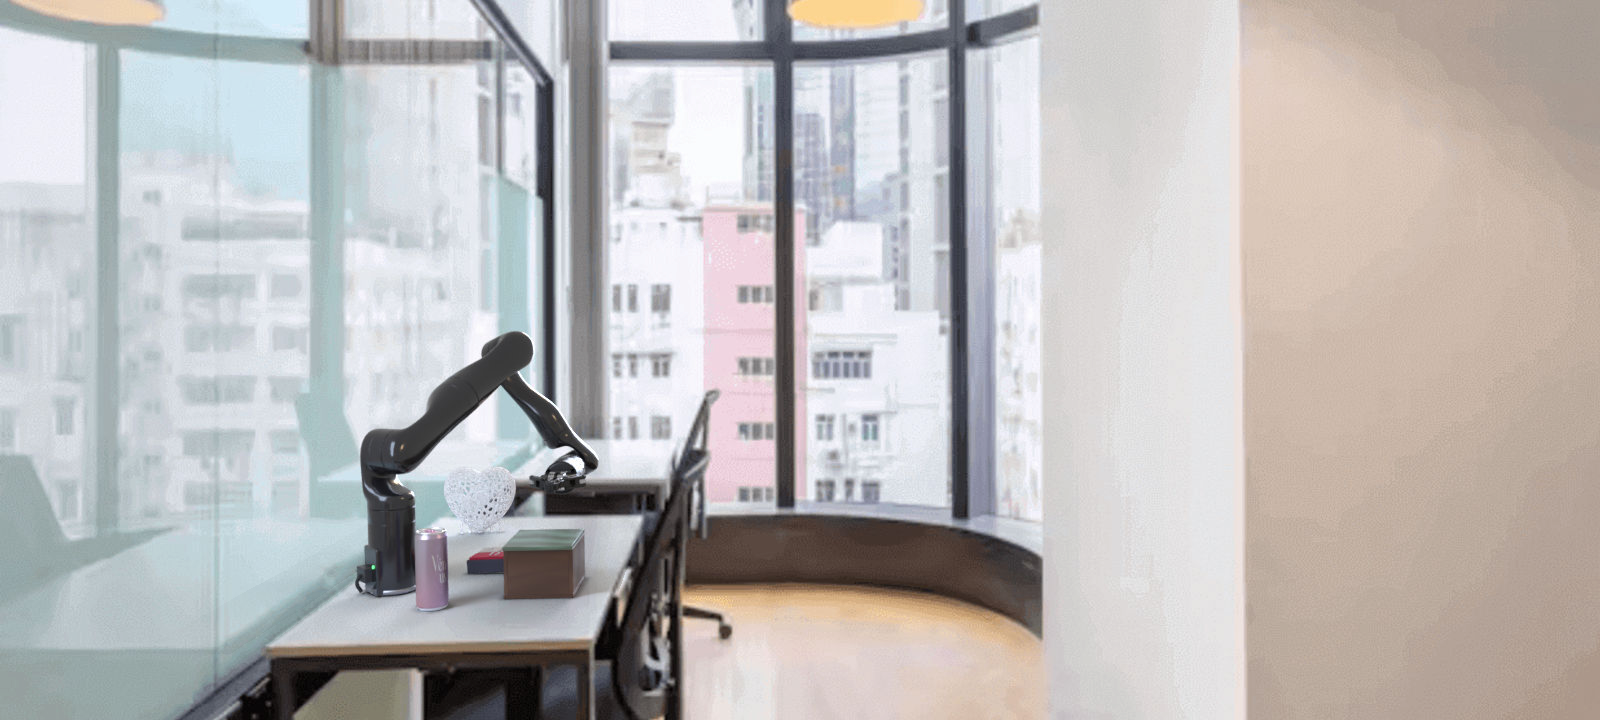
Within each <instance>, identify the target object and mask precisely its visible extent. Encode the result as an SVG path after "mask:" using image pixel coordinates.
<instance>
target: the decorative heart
mask: <svg viewBox="0 0 1600 720" xmlns="http://www.w3.org/2000/svg"><path fill="white" fill-rule="evenodd" d="M497 476H498V477H497ZM462 483H463V484H462ZM467 488H468V489H469V490H468V489H467ZM504 489H505V490H504ZM516 490H517V485H516V480H515V477H514V475H513V474H512V472H511V471H509V470H508V469H507V468H505V467H502V466H489V467H487V468H484V470H482V471H480V470H477V469H475V468H472V467H467V466H460V467H457V468H455V469H453V470H450V472H449V473H448V474H447V476H446V478H445V480H444V484H443V494H444V499H445V501H446V503H447V506H448V507H449V509H450V510H451V512H452V513H453V515H454V516H455V517H456V518H457V519H458V520H460V521H461V523H460V535H464V525H465V526H467V527H468V534H472V530H473V531H474V532H476V533H477V534H483V533H486V531H487V530H488V529H489V533H491V534H492V533H494V532H493V526H494V525H496V524H497V523H498V533H502V521H501V519H502V518H503V517H504V516H505V514H507V512H508V511H509V510H510V508H511V506H512V504H513V502H514V499H515V497H516ZM465 493H466V494H465ZM494 494H495V495H494ZM491 499H492V501H490V500H491ZM490 509H491V510H490ZM484 513H485V514H484Z"/></svg>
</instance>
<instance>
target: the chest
mask: <svg viewBox="0 0 1600 720" xmlns="http://www.w3.org/2000/svg"><path fill="white" fill-rule="evenodd" d="M585 546H586V545H585V533H584V534H583V535H582V536H581V538H580V539H579V541H578V542H577V543H576V545H575V546H574V547H573V549H572V550H534V551H503V560H504V572H503V599H504V600H531V599H533V600H534V599H535V600H536V599H573V598H574V597H575V596H576V594H577V592H578V591H579V589H580V588H581V586H582V584H583V582H584V581H585V579H586V551H585V550H586V549H585Z"/></svg>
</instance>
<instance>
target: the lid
mask: <svg viewBox="0 0 1600 720" xmlns="http://www.w3.org/2000/svg"><path fill="white" fill-rule="evenodd" d="M583 534H584V535H585V528H558V529H557V528H554V529H550V528H549V529H519V530H518V531H517V532H516V533H515V534H513V536H512V537H511V538H510V539H509V540H508V541H507V542H506V543H505V544H504V545H503V546H501V547H502V551H534V550H572V549H573V547H574V546H575V545H576V543H577V542H578V541H579V539H580V538H581V536H582V535H583Z"/></svg>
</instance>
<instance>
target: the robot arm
mask: <svg viewBox="0 0 1600 720" xmlns="http://www.w3.org/2000/svg"><path fill="white" fill-rule="evenodd" d="M480 352H481V353H480V356H481V358H479V359H477V360H475V361H474V362H471V363H470V364H468V365H466V366H464V367H463V368H460V369H459V370H457V371H456V372H455V373H453V374H452V375H450V376H449V377H447V378H445V380H443V381H442V382H441V383H440V384H439V385H437V386H436V387H435V388H434V389H433V390H432V391H431V392H430V394H429V396H428V398H427V401H426V405H425V412H424V414H423V415H421V416H420V418H418V419H417V420H416V421H415V422H413V423H412V424H411V425H409V426H407V427H405V428H383V427H382V428H380V427H377V428H373V429H371V430H369V431H368V432H367V433H366V434H365V436H364V437H363V439H362V441H361V445H360V451H359V452H360V453H359V465H360V476H361V488H362V494H363V497H364V498H365V501H366V513H367V544H365V545H364V547H363V548H364V549H363V552H364V553H363V554H364V564H362V565H361V564H360V565H356V578H355V580H354V586H355V588H356V590H357V592H359V594H360V593H361V594H362V593H363V592H364V590H363V588H362V587H361V585H360V582H361V583H363V584H364V589H365V592H366V593H369V594H371V595H373V596H375V597H383V596H398V595H403V594H407V593H411V592H413V591H416V578H415V535H416V531H417V529H416V528H417V523H416V521H417V519H416V495H415V492H414V491H413V490H411V489H410V488H408V487H406V486H405V485H404V484H403V482H401V480H400V479H399V477H398V476H401V475H402V476H403V475H406V474H410V473H412V472H414V470H416V469H417V468H418V467H420V465H421V464H422V463H423V462H424V461H425V460H426V458H428V456H429V455H430V454H431V453H432V452H433V451H434V450H435V448H436V447H437V446H438V445H439V444H440V443H441V441H443V440H444V439H445V438H446V437H447V436H448V435H449V434H450V433H452V431H454V429H456V428H457V427H458V426H459V425H460V424H462V422H463V421H465V420H466V419H467V418H468V417H470V415H472V414H473V413H474V412H475V411H476V410H477V409H478V408H479V407H480V406H482V405H483V403H485V402H486V401H487V400H488V399H489V398H490V397H491V396H492V395H493V394H494V392H496V390H498V388H500V386H501V387H502V388H503V390H504V391H505V393H507V395H508V396H509V397H510V398H511V399H512V400H513V401H514V402H515V403H516V405H517V406H518V407H519V408H520V409H521V410H522V411H523V413H524V414H525V415H526V416H527V418H528V419H529V421H530V422H531V424H532V425H533V426H534V428H535V430H536V431H537V433H538V434H539V436H540V438H541V439H542V441H543V443H544V444H545V446H546V447H547V448H548V449H550V450H556V449H560V448H563V447H569V448H571V449H572V450H570V451H568V452H566V453H565V454H563V455H561V456H559V457H558V458H556V459H555V460H554V461H553V462H552V463H551V464H550V465H548V467H547V468H546V470H545V472H544V474H541V475H540V476H539V475H534V474H533V475H532V474H530V475H529V476H528V477H529V479H528V481H529V482H528V484H529V488H530V489H535V490H539V491H545V492H546V493H547V494H549V493H551V494H552V493H553V494H556V495H560V496H561V495H567V494H569V493H571V492H572V491H574V490H575V489H578V488H585V487H587V475H589V474H591V473H593V472H595V471H596V470H597V469H598V467H599V457H598V455H597V453H596V452H595V450H594V449H593V448H591V446H589V445H588V444H587V443H586V442H585V441H584V440H583V439H581V438H580V437H579V436H578V435H577V434H576V432H574V430H573V429H572V427H571V426H570V425H569V423H568V421H567V420H566V418H565V417H564V415H563V413H562V412H561V410H560V409H559V408H558V407H557V406H556V405H555V404H554V403H553V401H551V400H550V399H548V398H547V397H545V396H544V395H543V394H541V392H538V390H536V389H534V388H533V387H532V386H531V385H530V384H529V383H528V382H527V381H526V380H525V379H524V378H523V376H522V374H521V373H520V371H522V370H523V369H525V368H527V367H528V366H529V365H530V364H531V362H532V361H533V359H534V356H535V345H534V342H533V339H532V338H531V337H530V336H529V335H528V334H527V333H525V332H523V331H519V330H511V331H507V332H504V333H502V334H500V335H497V336H496V337H494V338H492V339H490V340H488V341H487V342H485V343H484V344H483V346H482V348H481V351H480Z"/></svg>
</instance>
